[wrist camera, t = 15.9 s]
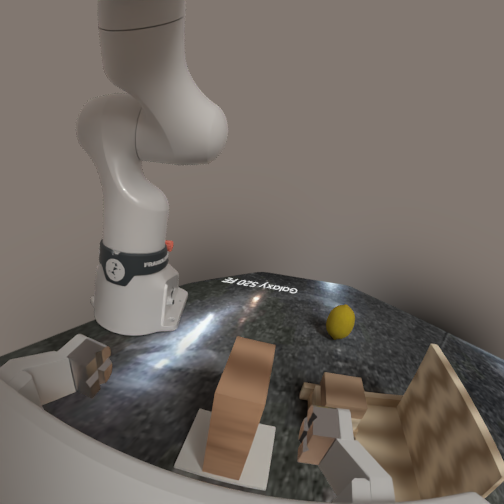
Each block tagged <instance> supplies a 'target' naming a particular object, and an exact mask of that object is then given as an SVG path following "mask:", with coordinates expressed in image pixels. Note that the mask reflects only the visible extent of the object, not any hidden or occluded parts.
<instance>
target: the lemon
mask: <svg viewBox="0 0 504 504" xmlns="http://www.w3.org/2000/svg"><path fill="white" fill-rule="evenodd" d="M354 322H355V315H354V312H353V311H352V309H351V308H350V307H348V305H346V304H345V305H340V306H337V307H335V308H334V309H333V310H332V311H331V312H330V314H329V316H328V319H327V322H326V329H327V332H328V334H329V335H330V336H331V337H332V338H333V339H334V340H336V339H342V338H345V337H346V336H348V335H349V334H350V332H351V331H352V329H353V326H354Z"/></svg>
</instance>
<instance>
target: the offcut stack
mask: <svg viewBox="0 0 504 504" xmlns="http://www.w3.org/2000/svg"><path fill="white" fill-rule="evenodd" d="M311 405H318V406H325V407H332V408H341V409H349V410H350V413H351V420H352V428H353V435H354V437H355V436H356V434H357V433H358V427H357V426H358V424H359V423H360V421H361V419H362V418H363V416H364V414H365V413H366V411H367V409H368V407H367V403H366V398H365V393H364V388H363V384H362V379H361V378H358V377H352V376H345V375H339V374H333V373H327V372H324V375H323V377H322V380H321V382H320V386H317V385H316V386H315V389H314V391H313V392H311V394H310V396H309V399H308V410H309V408H310V406H311ZM307 417H308V412H307Z"/></svg>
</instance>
